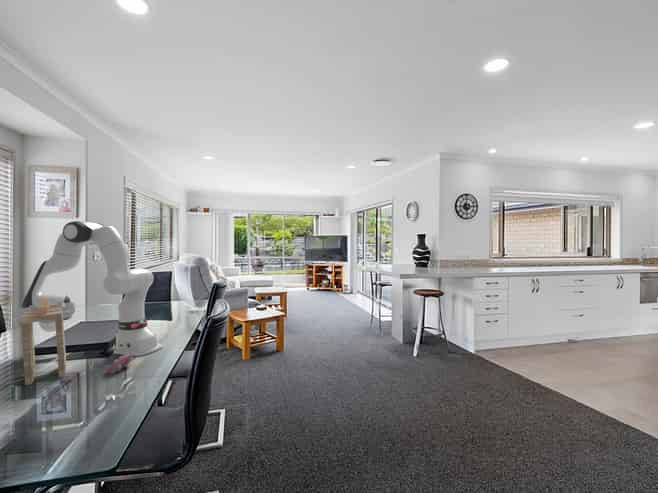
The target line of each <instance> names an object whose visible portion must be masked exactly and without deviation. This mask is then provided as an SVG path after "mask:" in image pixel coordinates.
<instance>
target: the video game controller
mask: <svg viewBox="0 0 658 493" xmlns="http://www.w3.org/2000/svg"><path fill="white" fill-rule="evenodd" d="M133 360H134V356H131V355H128V354H127V355H120V356H119V357H118V358H117V359H115V360H114V361H113V362H112V363H111V364H109V366H107V367H106V368H105V372H106V374H110V373H113V372H114V371H116V370H119V369H120V370H121V369H122V368H123V369H125V368H127V366H128V365H129V364H130V363H132V361H133ZM124 367H125V368H124ZM120 370H119V371H120Z"/></svg>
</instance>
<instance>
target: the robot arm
mask: <svg viewBox="0 0 658 493" xmlns="http://www.w3.org/2000/svg"><path fill="white" fill-rule="evenodd" d="M86 245H97V247H98V250H99V252H100V254H101V256H102V258H103V259H104V262H105V265H106V269H107V271H106V275H105V277H104V280H103V284H102V285H103V289H104V291H105V292H106V293H107V294H109V295H124V296H123V299H121V302H120V303H119V304H118V308H117V309H118V310H117V311H118V312H117V313H118V321H117V329H118V332H117V333H116V337H115V349H114V350H113V354H114V355H115V354H116V355H121V356H123V355H127V354H128V355H131V356H133V357H140V356H145V355H149V354H151V353H153V352H156V351H159V350H161V349H162V348H164V345H163V344H162V343H159V342H158V337H157V335H158V334H157V332H153V330H152V329H150V328H149V326H148V323H149V322H148V320H147V318H146V317H145V301H146V297H147V293H148V290H149V288H150V287H151V286H152V284H153V283H154V280H155V278H154V277H155V276H154V275H153V274H154V273H152V270H150V269H147V268H134V269H133V268H132V269H130V267H129V262H130V260H131V258H132V255H131V252H130V250H129V248H128V246H127V245H126V243H125V241H124V239H123V237H122V236H121V234H120V233H119V232H118V230H117V229H116V228H115V226H111V225H104V224H102V223H96V222H90V221H80V220H79V221H78V220H76V221H75V220H74V221H70V222H68V223H66V224H65V225H64V227H63V228H62V232H61V233H60V234H59V236H58V238H57V239H56V242H55V245H54V249H53V253H52V255H51V257H50V258H49V259H48V260H44V261H43V262H42V263H41V264H40V266H39V268H38V270H37V272H36V274H35V276H34V278H33V280H32V283H31V284H30V287H29V288H28V291H27V293H26V294H25V296H24V298H23V299H22V302H21V308H19V309H17V310H16V316H17V318H18V319H19V320H20V318H21V317H22V315H23V314H24V312H25V311H29V310H36V307H37V306H38V304H39V302H40V300H41V299H46V298H50V307H49V308H53V307H62V306H63V322H64V321H67V320H70V319H72V318H73V315H74V314H75V312H76V303H75V302H74V301H73V302H72V301H71V298H70V297H69V296H68V295H67V294H60V293H59V294H58V293H47V292H42V291H41V290H42V288H43V285H44V283H45V281H46V278H47V277H49V275H52V274H53V275H54V274H58V273H64V272H68V271H71V270H73V269H74V268H76V267H77V266H78V265H79V263H80V261H81V257H82V251H83V248H84V247H85V246H86ZM38 326H39V328H40V329H41V330H42V331H45V332H47V333H51V332H56V324H55V319H53V320H46V321H39V322H38Z"/></svg>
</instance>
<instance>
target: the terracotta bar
mask: <svg viewBox="0 0 658 493" xmlns="http://www.w3.org/2000/svg"><path fill="white" fill-rule="evenodd" d="M49 307H50V298H46V299H41V300H40V302H39V304H38V306H37V307H36V311H37V315H44V314H47V312H48V310H49Z"/></svg>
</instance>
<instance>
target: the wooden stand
mask: <svg viewBox="0 0 658 493" xmlns="http://www.w3.org/2000/svg"><path fill="white" fill-rule="evenodd" d="M53 319H55V324H56V331H55V337H56V338H55V339H56V351H57V352H56V353H57V354H56V355H57V367H58V368H57V370H58V379H60V378H65V377H66V370H67V359H66V358H67V357H66V342H65V341H66V340H65V326H64V321H63V306H62V307H53V308H49V310H48V312H47V314H44V315H37V311H36V310H29V311H25V312H24V314H23V315H22V317H21V318H20V319H19V323H20V327H21V328H20V330H21V342H22V343H21V345H22V356H23V370H24V373H23V374H24V386H29V385H32V384H33V383H34V380H35V377H36V372H37V371H36V370H37V367H36V354H35V340H34V324H33V323H39V321H46V320H53Z"/></svg>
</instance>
